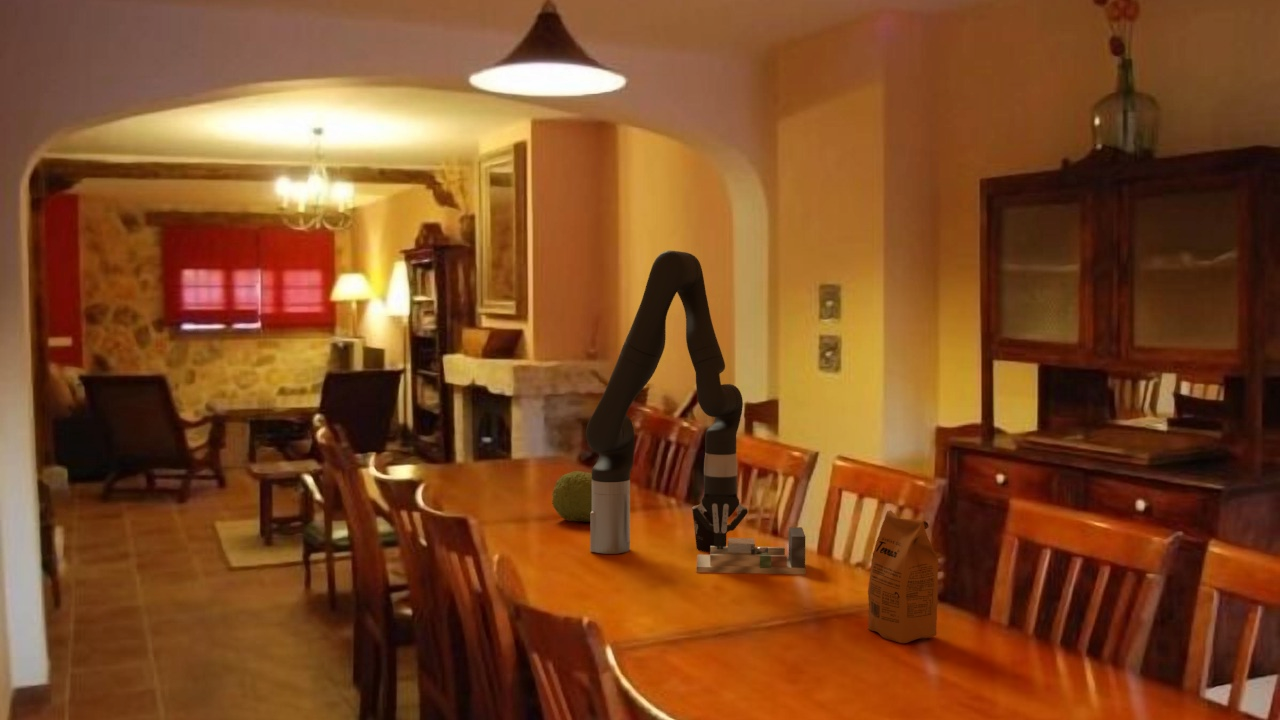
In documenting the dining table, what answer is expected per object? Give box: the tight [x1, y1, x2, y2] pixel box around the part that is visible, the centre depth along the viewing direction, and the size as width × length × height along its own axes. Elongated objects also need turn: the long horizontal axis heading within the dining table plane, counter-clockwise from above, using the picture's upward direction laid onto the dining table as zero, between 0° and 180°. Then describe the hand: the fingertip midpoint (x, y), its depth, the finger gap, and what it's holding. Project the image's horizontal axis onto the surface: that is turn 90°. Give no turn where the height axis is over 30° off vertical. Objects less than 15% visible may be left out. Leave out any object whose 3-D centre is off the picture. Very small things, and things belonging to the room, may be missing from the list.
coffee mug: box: [691, 504, 722, 553], centre depth 278 cm, size 12×9×10 cm
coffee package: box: [867, 510, 939, 644], centre depth 208 cm, size 10×12×22 cm
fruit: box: [551, 470, 592, 523], centre depth 309 cm, size 16×14×15 cm
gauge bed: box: [696, 526, 806, 575], centre depth 259 cm, size 24×12×8 cm, turn 86°
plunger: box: [727, 537, 769, 555], centre depth 257 cm, size 9×9×4 cm
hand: (720, 548), depth 259 cm, fingers closed
